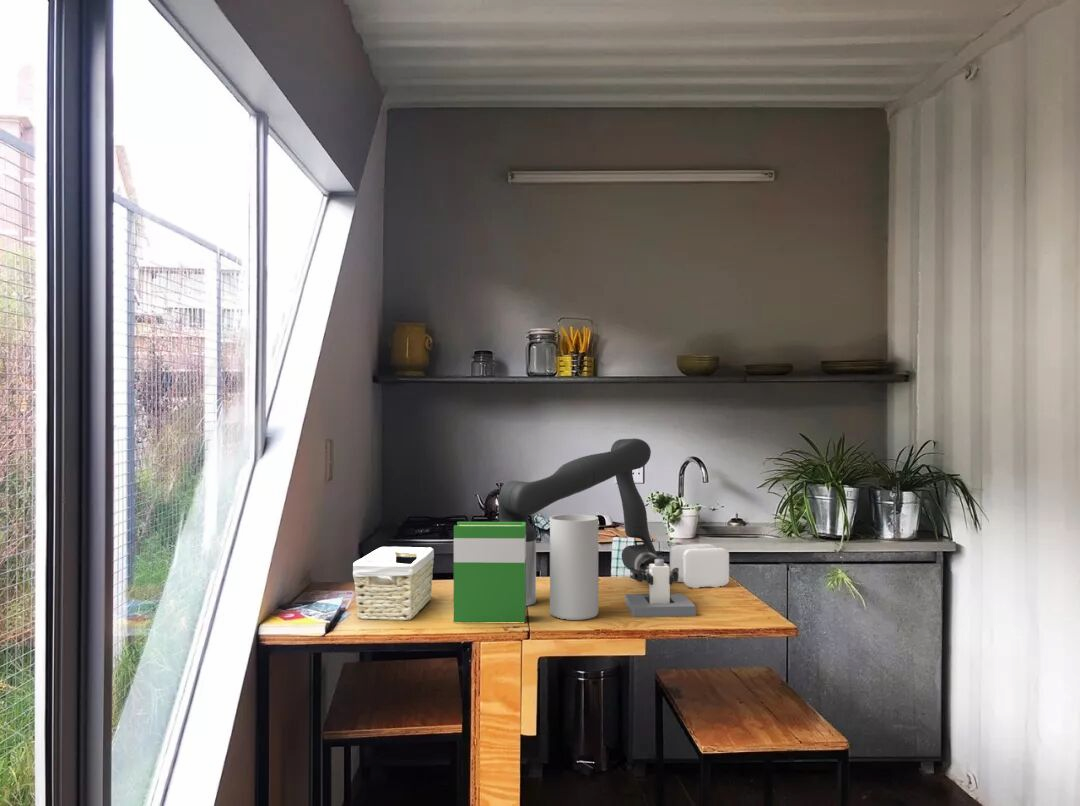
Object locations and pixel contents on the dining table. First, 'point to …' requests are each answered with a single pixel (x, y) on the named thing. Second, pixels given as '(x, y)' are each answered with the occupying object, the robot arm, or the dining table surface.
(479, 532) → the green cereal box
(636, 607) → the socket plate
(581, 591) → the cylinder vase
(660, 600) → the white block with knob
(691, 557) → the white napkin holder
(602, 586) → the dining table surface
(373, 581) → the storage basket
